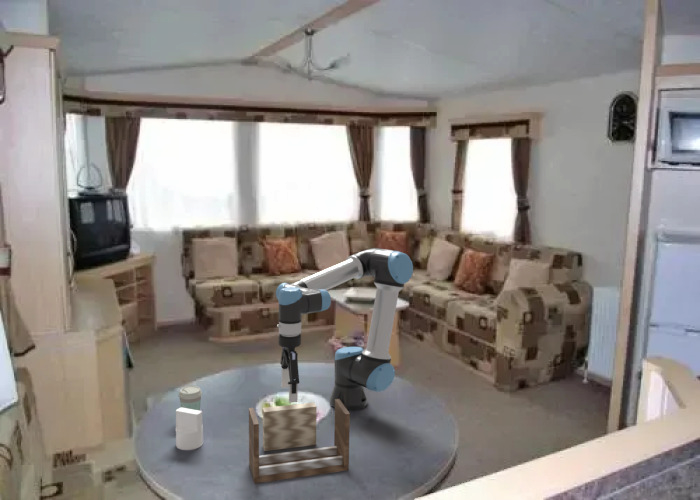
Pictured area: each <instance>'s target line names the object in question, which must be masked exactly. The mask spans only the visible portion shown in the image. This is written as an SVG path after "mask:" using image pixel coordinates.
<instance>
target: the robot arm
mask: <svg viewBox="0 0 700 500" xmlns="http://www.w3.org/2000/svg"><path fill="white" fill-rule="evenodd" d="M413 271H414V265H413V261H412V260H411V258H410V256H409V255H408V254H407V253H404V252H401V251H398V250H392V249H386V248H385V249H384V248H380V247H373V248H372V247H371V248H367V249H364V250H362V251H359V252H356V253H353V254H352V255H349V256H348V257H347V258H346V259H345V260H344V261H342V262H340V263H337V264H335V265H332V266H330V267H328V268H327V267H326V268H325V269H322V270H321V271H318V272H316V273H314V274H312V275H308V276H306V277H305V278H301V279H299V280H298V281H295V282H292V283H291V282H282V283H280V284H279V285H278V286H277V288H276V291H275V296H276V299H277V300H278V302H277V303H278V323H279V324H277V325H276V327H277V328H278V333H279V334H278V346H280V347H282V349H281V356H280V362H279V363H280V365H281V388H288V402H289V403H290V404H291V403H298V393H299V390H298V389H299V388H298V387H299V385H300V375H299V363H298V352H297V350H296V348H297V347H299V346H301V344H302V334H301V333H302V315H308V314H312V313H321V312H323V311H327V310H328V309H330V307H331V304H332V301H331V300H332V298H331V297H332V296H331V294H330V292H329V291H328V290H331V289H333V288H335V287H337V286H340V285H341V284H344V283H346V282H349V281H350V280H352V279H356V280H358V279H361V278H364V277H370V278H371V277H373V278H374V280H373V283H374V285H375V287H376V292H375V297H374V304H373V309H372V314H371V318H370V319H371V321H370V325H369V326H370V327H369V331H368V337H367V343H366V348H365V349H364V348H363V347H360V346H346V347H341V348H339V349H338V348H337V350H336V351H335V353H334V386H333V388H332V392H331V394H330V398H329V404H331V405H332V406H333V407H332V406H331V405H330V406H331V407H332V408H334V407H335V399H340V401H341V402H342V403H343V405H344V406H345V408H346V409H347V410H353V411H358V410H357V409H359V410H362V409H364V408H366V406H367V405H368V397H367V394H366V390H365V388H366V389H368V390H369V391H373V392H376V393H381V392H384V391H386V390H387V389H388V388H390V386H391V385H392V383H393V382H394V381H395V375H396V370H395V367H394V365H392V364H391V362H392V361H391V360H392V356H391V354H390V353H389V351H390V345H391V338H392V332H393V327H394V322H395V321H394V320H395V316H396V310H397V304H398V298H399V293H400V291H402V290H403V289H404V288H405V287H404V286H405V284H406V283H408V282H409V281H410V280H411V278H412V277H413V273H414V272H413ZM363 407H364V408H363ZM361 408H362V409H361Z"/></svg>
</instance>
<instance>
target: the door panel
mask: <svg viewBox="0 0 700 500" xmlns="http://www.w3.org/2000/svg"><path fill="white" fill-rule="evenodd" d="M317 408H318V407H317V405H316V403H315V402H308V403H305V402H304V403H297V404H288V405H277V406H269V407H268V406H267V407H262V448H263V451H264V452H268V451H275V450H277V451H278V450H284V449H292V448H300V447H301V448H302V447H308V446H316V445H317V413H318V411H317Z"/></svg>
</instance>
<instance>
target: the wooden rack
mask: <svg viewBox="0 0 700 500" xmlns="http://www.w3.org/2000/svg"><path fill="white" fill-rule="evenodd" d="M350 418H351V414H350V411H348V410H347V409H346V408H345V406H344V405H343V403H342V402H341V401H340V399H335V408H334V435H333V436H334V437H333V438H334V440H333V441H334V442H333V443H334V444H333V446H325V447H324V446H323V447H317V448H309V449H302V450H295V451H285V452H277V453H271V454H263V455H260V423H259V420H258V417H257V414H256V411H255V408H254V407H248V464H249V468H250V473H251V475H252V480H253V484H260V483H268V482H275V481H281V480H290V479H297V478H301V477H309V476H317V475H322V474H323V475H325V474H332V473H339V472H344V471H345V472H346V471H349V470H350V428H351V425H350V422H351V419H350Z"/></svg>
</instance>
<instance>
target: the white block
mask: <svg viewBox="0 0 700 500" xmlns="http://www.w3.org/2000/svg"><path fill="white" fill-rule="evenodd" d="M203 444H204V426H203V411H202V410H200V411H199V410H193V409H188V408H182V407H181V406H180V407H179V408H177V409H176V410H175V445H176V446H175V447H176V448H177V449H179V450H181V451H194V450H196V449H199V448H200V447H202V445H203Z"/></svg>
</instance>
